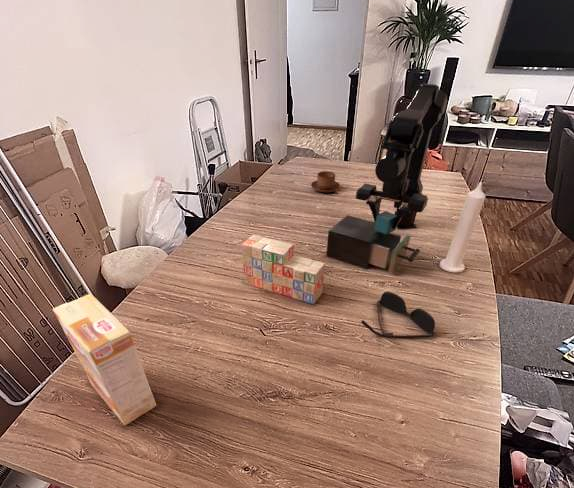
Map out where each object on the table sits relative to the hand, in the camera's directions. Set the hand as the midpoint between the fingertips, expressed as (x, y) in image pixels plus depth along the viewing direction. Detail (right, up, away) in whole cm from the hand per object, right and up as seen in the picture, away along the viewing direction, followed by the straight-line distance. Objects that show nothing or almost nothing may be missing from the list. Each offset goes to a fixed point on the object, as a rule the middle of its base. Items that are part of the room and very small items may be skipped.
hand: (385, 226), depth 109 cm
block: (0, -1, +1) cm, 1 cm away
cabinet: (-7, -6, +9) cm, 13 cm away
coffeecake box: (-62, -44, -34) cm, 83 cm away
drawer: (+1, -9, +4) cm, 10 cm away
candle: (+21, -11, +4) cm, 24 cm away
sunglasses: (-4, -30, -18) cm, 35 cm away
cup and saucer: (-13, +29, +48) cm, 58 cm away
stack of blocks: (-30, -19, -6) cm, 36 cm away
